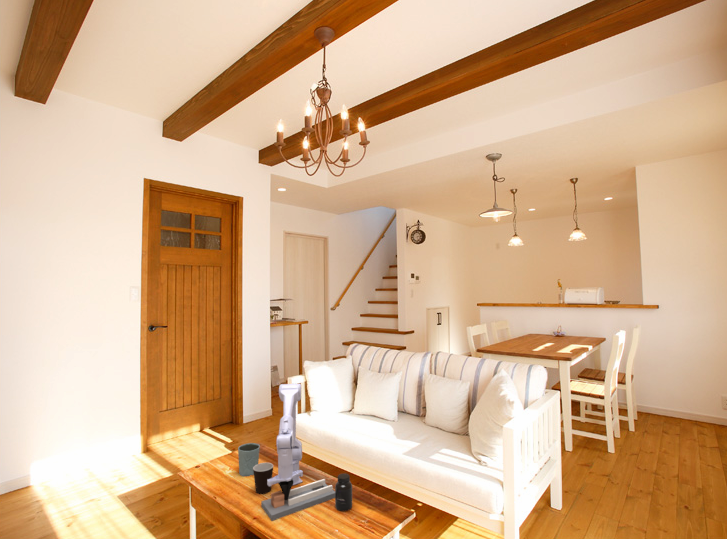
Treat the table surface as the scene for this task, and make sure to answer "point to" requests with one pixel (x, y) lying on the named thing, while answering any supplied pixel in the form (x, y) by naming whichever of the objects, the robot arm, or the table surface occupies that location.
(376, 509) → the table surface
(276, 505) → the block
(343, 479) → the supplement bottle
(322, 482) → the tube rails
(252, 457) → the grey green planter pot
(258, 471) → the coffee mug
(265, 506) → the trap deck
